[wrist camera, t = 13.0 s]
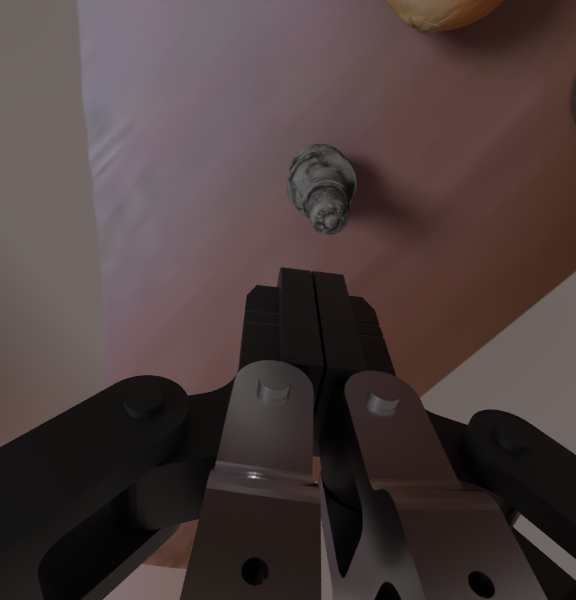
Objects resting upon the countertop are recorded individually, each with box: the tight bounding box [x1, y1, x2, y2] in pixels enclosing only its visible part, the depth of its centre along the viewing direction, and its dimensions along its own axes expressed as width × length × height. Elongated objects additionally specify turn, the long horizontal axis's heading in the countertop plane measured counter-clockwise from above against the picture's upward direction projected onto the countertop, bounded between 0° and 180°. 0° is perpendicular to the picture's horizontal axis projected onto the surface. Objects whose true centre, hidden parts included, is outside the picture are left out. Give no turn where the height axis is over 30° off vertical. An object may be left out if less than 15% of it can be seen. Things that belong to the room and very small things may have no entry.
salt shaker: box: [287, 144, 357, 235], centre depth 37 cm, size 6×6×12 cm
